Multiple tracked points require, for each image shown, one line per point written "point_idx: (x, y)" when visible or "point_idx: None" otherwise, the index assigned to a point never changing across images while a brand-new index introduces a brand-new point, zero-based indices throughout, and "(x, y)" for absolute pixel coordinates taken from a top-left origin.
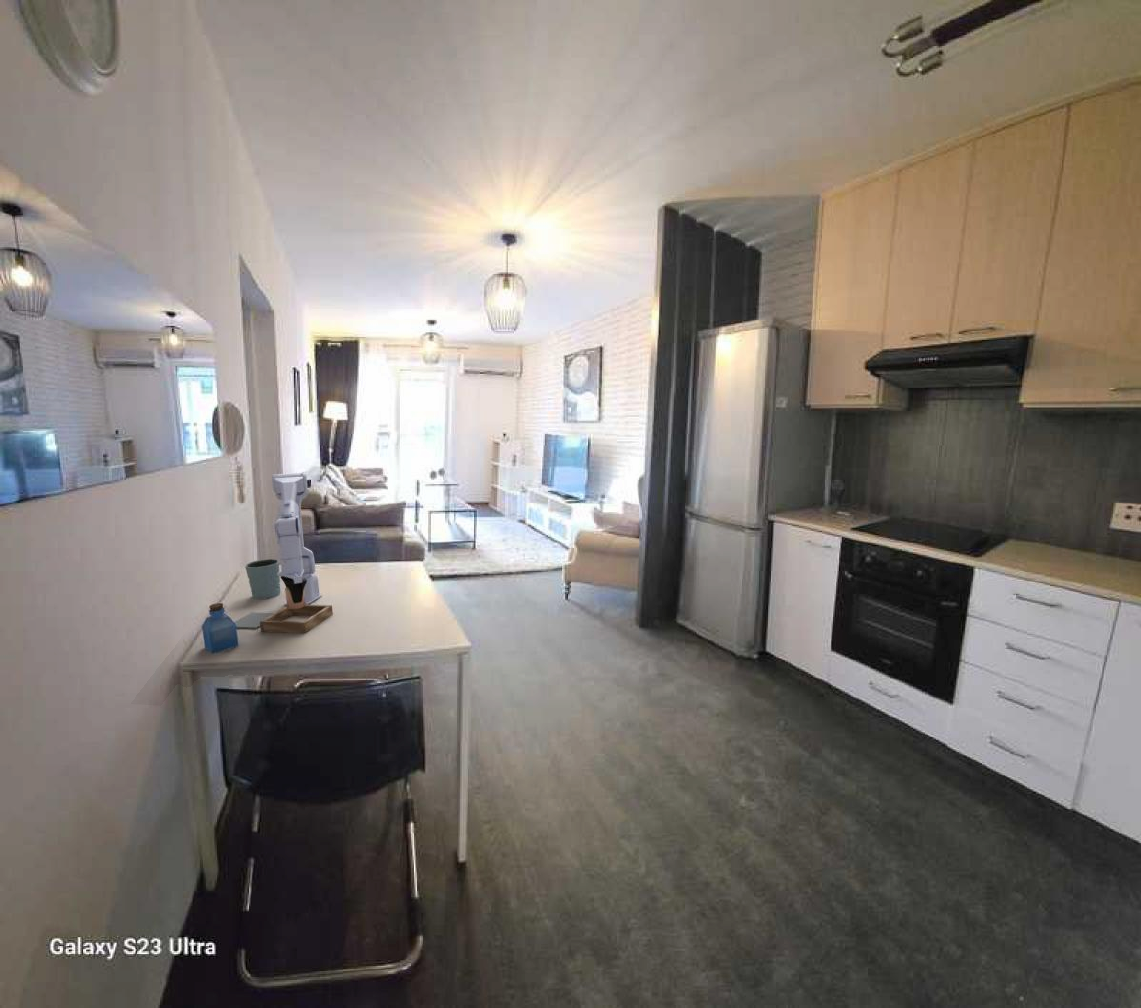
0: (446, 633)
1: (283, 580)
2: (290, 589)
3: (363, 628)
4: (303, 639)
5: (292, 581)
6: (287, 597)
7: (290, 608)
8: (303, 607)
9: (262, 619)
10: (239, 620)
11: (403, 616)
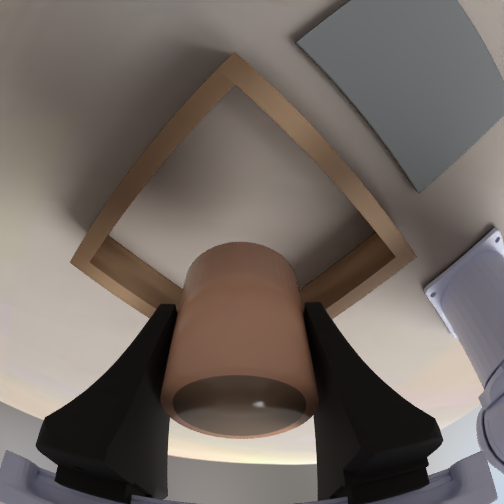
0: (22, 407)
1: (353, 432)
2: (82, 396)
3: (69, 359)
4: (34, 219)
5: (92, 475)
6: (204, 309)
7: (200, 257)
8: (339, 291)
9: (402, 99)
10: (461, 23)
11: None
